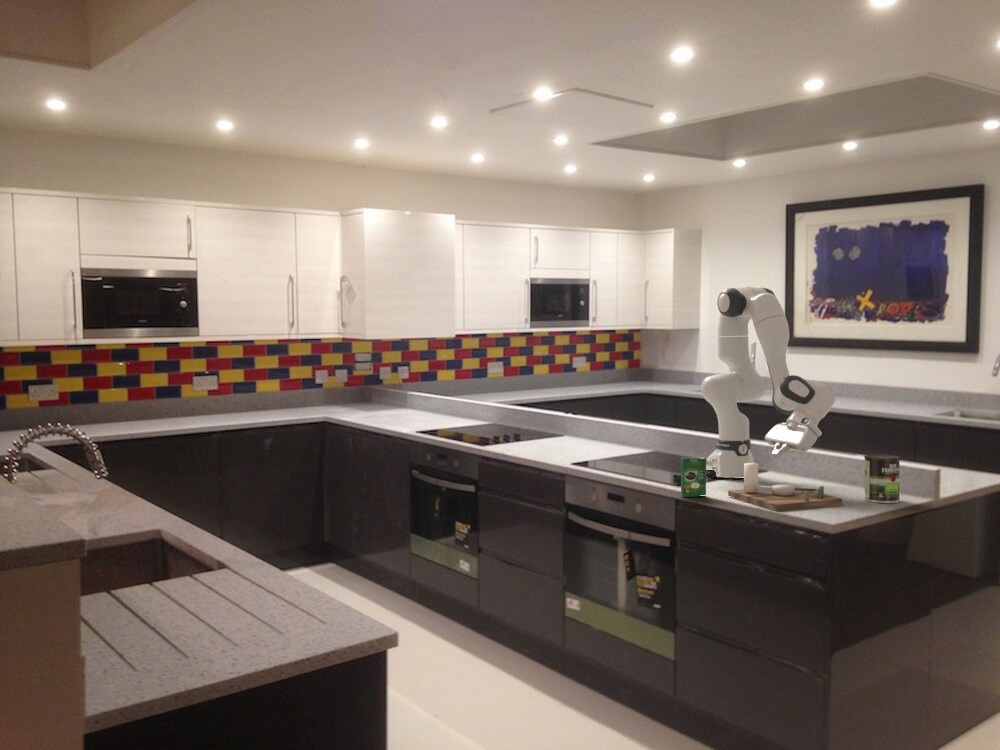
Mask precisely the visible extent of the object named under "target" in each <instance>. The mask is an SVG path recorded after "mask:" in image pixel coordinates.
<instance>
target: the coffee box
mask: <svg viewBox="0 0 1000 750" xmlns="http://www.w3.org/2000/svg"><path fill="white" fill-rule="evenodd" d="M680 460H681V461H680V462H681V464H680V467H681V469H680V470H681V471H680V472H681V473H680V497H682V498H699V497H698V496H700V495H706V496H707V476H706V460H707V458H705V457H681V459H680Z"/></svg>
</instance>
